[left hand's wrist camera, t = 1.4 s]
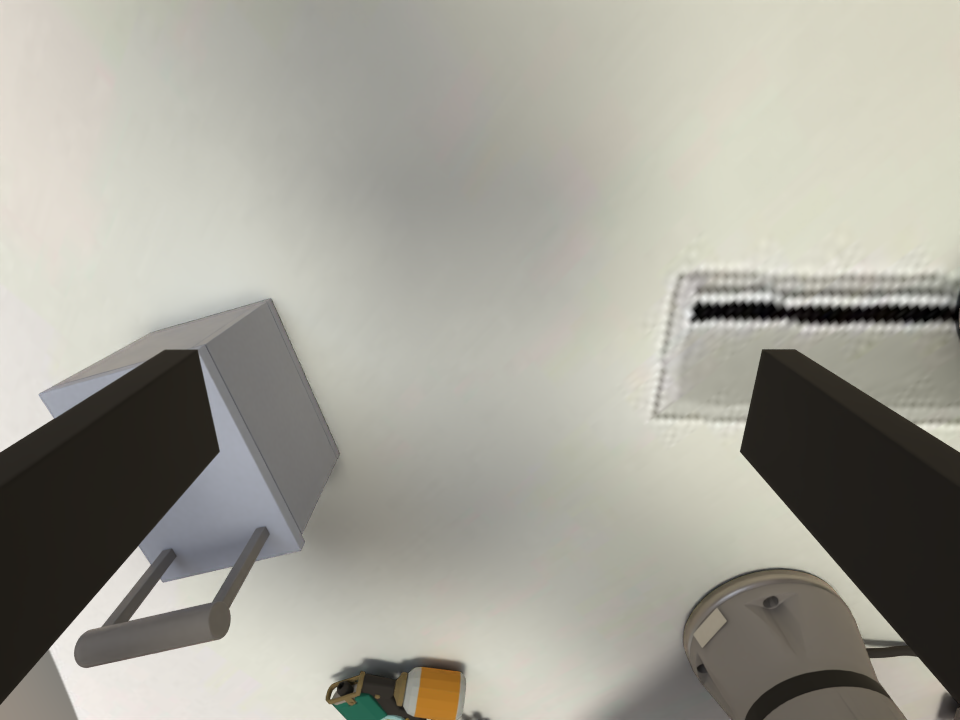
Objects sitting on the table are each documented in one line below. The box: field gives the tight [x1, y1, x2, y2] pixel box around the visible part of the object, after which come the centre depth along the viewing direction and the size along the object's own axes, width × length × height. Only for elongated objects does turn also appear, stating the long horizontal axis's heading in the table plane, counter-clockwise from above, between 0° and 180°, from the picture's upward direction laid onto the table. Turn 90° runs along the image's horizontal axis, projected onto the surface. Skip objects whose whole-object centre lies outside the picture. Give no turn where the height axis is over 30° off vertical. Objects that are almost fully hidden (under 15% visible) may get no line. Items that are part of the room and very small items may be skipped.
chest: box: [52, 299, 340, 534], centre depth 36 cm, size 14×10×10 cm
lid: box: [39, 345, 305, 668], centre depth 28 cm, size 14×10×8 cm
